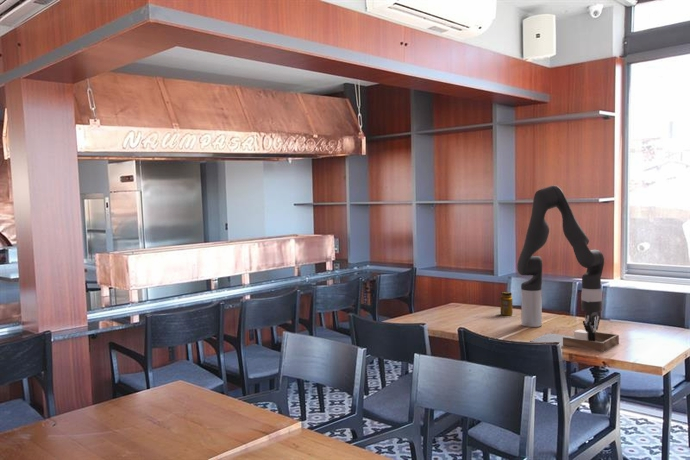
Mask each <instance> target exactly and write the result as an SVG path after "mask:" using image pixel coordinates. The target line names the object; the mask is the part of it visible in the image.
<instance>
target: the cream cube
mask: <svg viewBox="0 0 690 460" xmlns="http://www.w3.org/2000/svg"><path fill="white" fill-rule="evenodd" d="M573 332H574V335H573V337H574V339H581V340H588V341H589V337H588V332H586V330H585V329H577V330H574V331H573Z"/></svg>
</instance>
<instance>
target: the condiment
mask: <svg viewBox="0 0 690 460" xmlns="http://www.w3.org/2000/svg"><path fill="white" fill-rule="evenodd" d="M512 295H513V294H512V292H510V291H504V292H503V291H502V292H501V296H500V299H499V300H500V304H499V305H500V314H499V313H498V314H495V315H494V316H495V317H502V318H510V317H515V314H513V310H514V309H513V296H512Z"/></svg>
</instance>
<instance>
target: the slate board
mask: <svg viewBox="0 0 690 460" xmlns="http://www.w3.org/2000/svg"><path fill="white" fill-rule="evenodd" d="M563 337H568V338H574V336H569V335H563V334H558V333H549V332H547V333H545V334H543V335H541V336H538V337H536V338H533V339H531V340H529V343H530V342H533V343H540V342H560V343H561V347H566V348H568V347H567V346H563ZM595 342H603V341H596V340H595ZM618 345H619V344H617V345H615V346H613V347H611V348H610V349H608V350H606V351H604V352H603V353H605V352H607V351H609V350H611V349H612V348H614V347H616V346H618ZM571 348H572V349H573V347H571ZM577 349H579V350H581V349H580V348H577ZM584 350H585V351H587V350H586V349H584ZM590 351H592V352H593V350H590ZM596 352H598V353H600V352H599V351H596Z"/></svg>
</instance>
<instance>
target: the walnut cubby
mask: <svg viewBox="0 0 690 460" xmlns="http://www.w3.org/2000/svg"><path fill="white" fill-rule="evenodd" d="M619 337H620V335H619V334H614V333H607V332H601V331H596V332H595V340H596V341H603V342H595V341H588V340H581V339H574V338H568V337H563V346H562V347H565V346H567V347H566V348H572V347H573V348H574V349H578V348H580V349H579V350H585V349H586V350H585V351H591V350H593V351H594V352H597V351H599V352H598V353H605V352H607V351H609V350H611V349H612V348H614V347H616V346H618V345H619V344H620V339H619ZM617 344H618V345H617ZM615 345H616V346H615ZM613 346H614V347H613ZM611 347H612V348H611ZM573 348H572V349H573ZM610 348H611V349H610ZM608 349H609V350H608ZM606 350H607V351H606ZM593 351H592V352H593ZM604 351H605V352H604Z"/></svg>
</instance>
